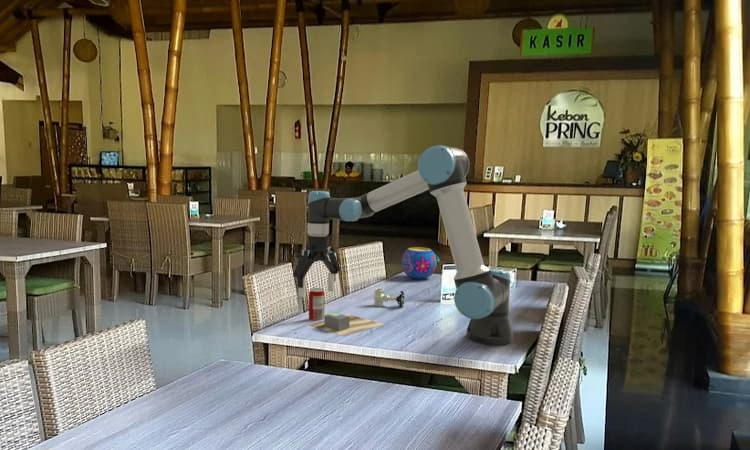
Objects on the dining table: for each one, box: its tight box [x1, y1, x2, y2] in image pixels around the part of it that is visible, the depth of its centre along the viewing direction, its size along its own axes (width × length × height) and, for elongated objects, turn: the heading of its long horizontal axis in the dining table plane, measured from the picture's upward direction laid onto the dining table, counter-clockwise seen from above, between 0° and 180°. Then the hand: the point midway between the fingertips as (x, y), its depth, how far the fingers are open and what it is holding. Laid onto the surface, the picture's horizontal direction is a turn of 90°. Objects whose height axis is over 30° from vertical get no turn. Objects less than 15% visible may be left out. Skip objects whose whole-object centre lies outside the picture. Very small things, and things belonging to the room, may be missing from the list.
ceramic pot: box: [401, 247, 440, 280], centre depth 286 cm, size 18×18×15 cm
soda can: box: [308, 287, 325, 322], centre depth 204 cm, size 6×6×12 cm
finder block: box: [324, 312, 350, 331], centre depth 193 cm, size 7×5×4 cm
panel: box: [307, 314, 386, 337], centre depth 197 cm, size 18×20×1 cm
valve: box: [373, 288, 405, 308], centre depth 229 cm, size 7×7×12 cm
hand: (316, 293), depth 204 cm, fingers open, 13 cm apart
